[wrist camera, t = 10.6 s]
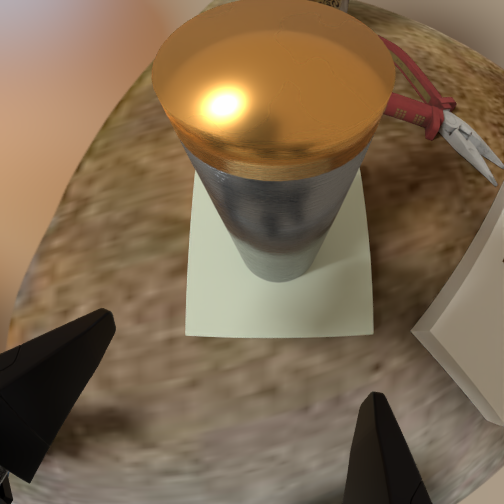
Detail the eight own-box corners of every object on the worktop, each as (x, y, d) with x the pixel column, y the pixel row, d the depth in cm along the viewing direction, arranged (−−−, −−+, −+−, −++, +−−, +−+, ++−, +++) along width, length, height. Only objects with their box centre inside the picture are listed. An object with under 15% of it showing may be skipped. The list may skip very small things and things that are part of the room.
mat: (368, 334, 18) (373, 334, 17) (189, 335, 19) (185, 335, 19) (356, 170, 21) (358, 163, 20) (199, 172, 22) (195, 166, 21)
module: (331, 256, 19) (441, 87, 4) (265, 297, 19) (218, 195, 4) (290, 195, 20) (298, -15, 6) (226, 232, 20) (126, 46, 5)
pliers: (475, 221, 20) (492, 210, 17) (301, 81, 25) (302, 61, 22) (506, 151, 21) (518, 139, 19) (363, 41, 26) (366, 24, 23)
